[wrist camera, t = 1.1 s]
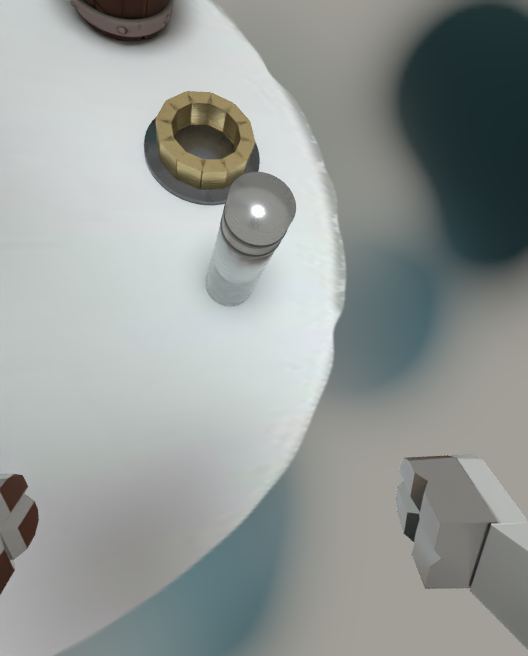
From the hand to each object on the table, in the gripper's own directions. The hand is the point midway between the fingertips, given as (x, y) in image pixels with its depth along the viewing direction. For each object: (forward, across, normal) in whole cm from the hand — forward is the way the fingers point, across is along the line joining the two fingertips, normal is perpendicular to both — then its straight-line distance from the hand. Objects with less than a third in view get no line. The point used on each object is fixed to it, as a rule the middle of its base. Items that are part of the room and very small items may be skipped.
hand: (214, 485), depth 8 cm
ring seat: (+42, +5, -6) cm, 43 cm away
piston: (+32, +2, +6) cm, 33 cm away
